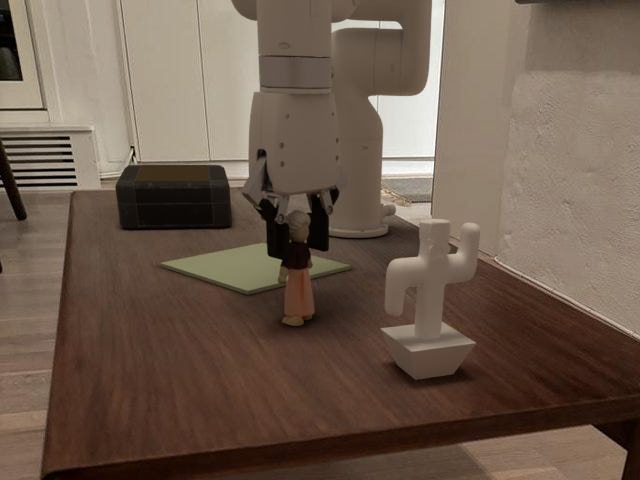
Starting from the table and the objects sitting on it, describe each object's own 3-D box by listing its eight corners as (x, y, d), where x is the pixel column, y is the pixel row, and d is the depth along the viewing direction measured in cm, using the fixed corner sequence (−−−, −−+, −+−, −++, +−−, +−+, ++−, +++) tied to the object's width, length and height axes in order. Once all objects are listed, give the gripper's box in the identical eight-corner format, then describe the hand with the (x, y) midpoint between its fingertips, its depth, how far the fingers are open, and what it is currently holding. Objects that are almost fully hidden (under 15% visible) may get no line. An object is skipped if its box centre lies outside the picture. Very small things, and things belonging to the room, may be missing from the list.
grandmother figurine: (306, 330, 86) (305, 217, 80) (274, 327, 87) (270, 215, 80) (321, 311, 93) (321, 205, 86) (292, 308, 93) (290, 203, 87)
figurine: (369, 363, 78) (373, 214, 70) (447, 352, 81) (460, 209, 73) (398, 388, 72) (407, 229, 64) (482, 376, 75) (499, 223, 68)
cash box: (126, 204, 151) (121, 164, 147) (226, 203, 155) (224, 164, 151) (116, 230, 130) (110, 183, 126) (232, 228, 134) (229, 183, 130)
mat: (262, 246, 122) (262, 242, 122) (350, 269, 111) (350, 265, 111) (160, 266, 109) (160, 262, 109) (248, 295, 98) (247, 290, 98)
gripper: (327, 75, 84) (327, 237, 94) (206, 75, 73) (219, 260, 83) (376, 78, 80) (371, 248, 89) (256, 79, 69) (264, 273, 78)
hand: (298, 252), depth 86 cm, fingers closed on grandmother figurine, 5 cm apart
